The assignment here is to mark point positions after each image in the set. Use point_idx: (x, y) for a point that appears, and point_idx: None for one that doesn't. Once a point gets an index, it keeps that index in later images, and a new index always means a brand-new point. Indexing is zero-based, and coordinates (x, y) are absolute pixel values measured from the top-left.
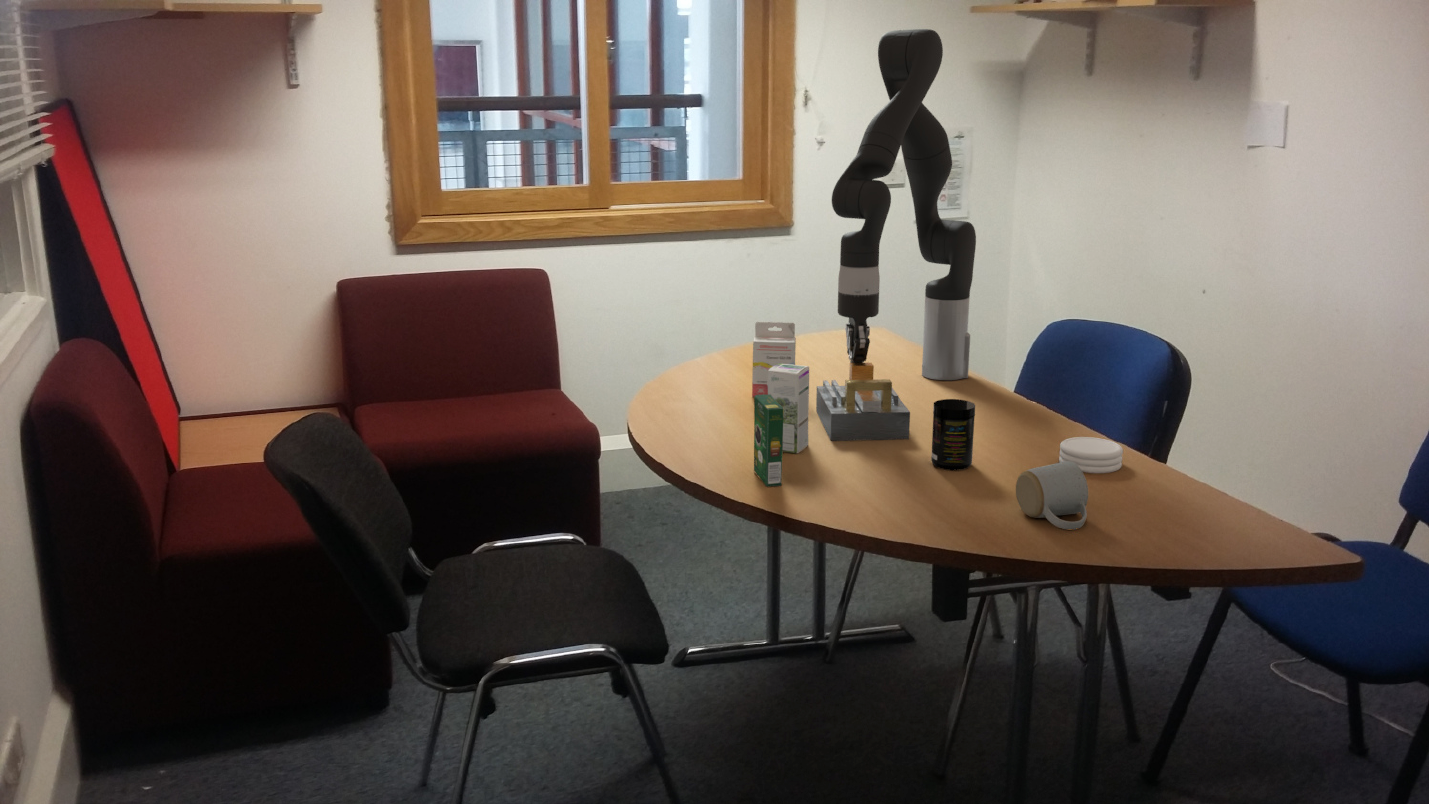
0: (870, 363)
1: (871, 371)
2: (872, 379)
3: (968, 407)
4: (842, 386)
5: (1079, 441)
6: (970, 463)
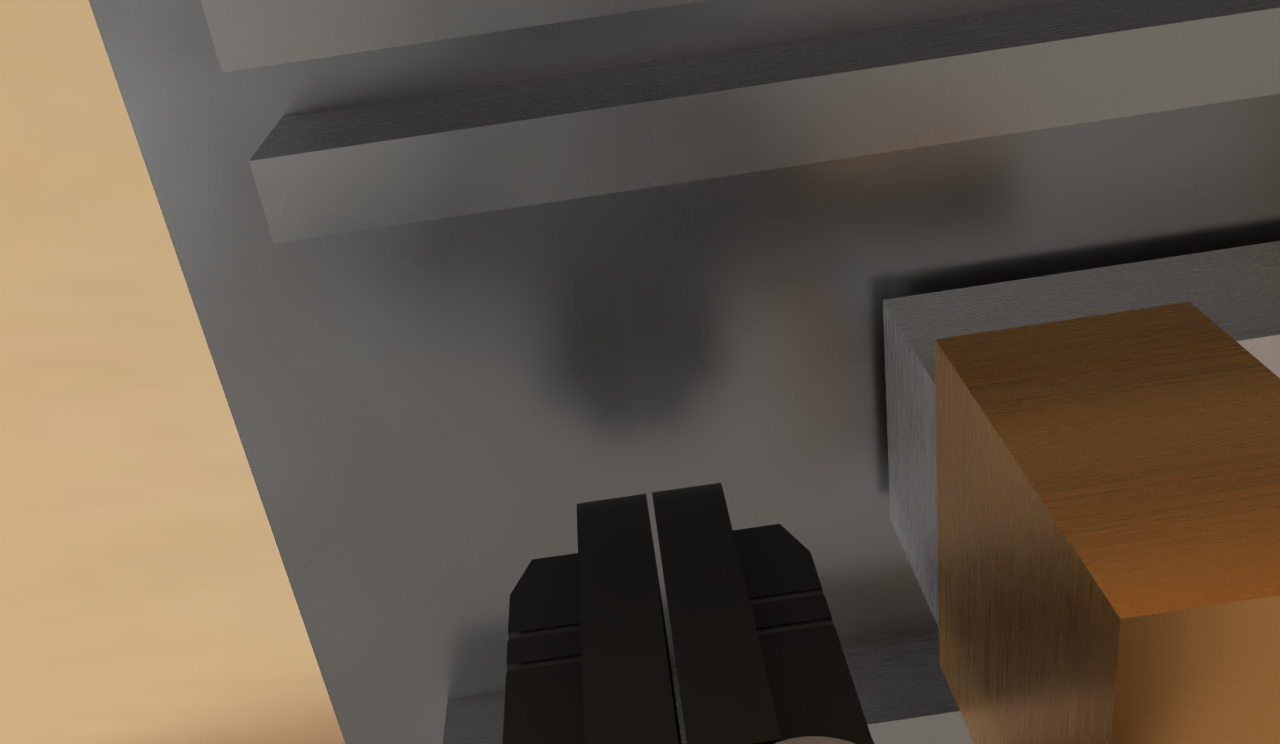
0: (1222, 635)
1: None
2: (1275, 385)
3: None
4: (351, 625)
5: None
6: None
